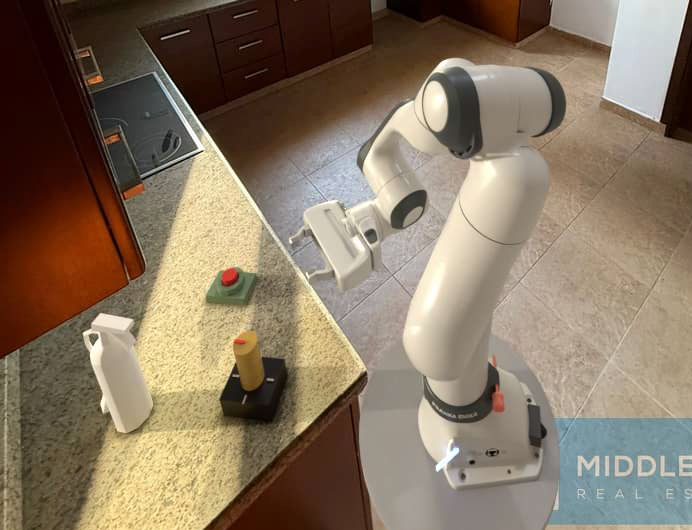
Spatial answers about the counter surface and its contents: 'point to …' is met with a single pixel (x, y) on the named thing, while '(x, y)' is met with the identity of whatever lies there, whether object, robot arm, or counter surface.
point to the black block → (255, 393)
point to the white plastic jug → (119, 372)
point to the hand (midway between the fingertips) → (298, 260)
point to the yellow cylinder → (248, 360)
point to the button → (229, 277)
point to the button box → (232, 289)
